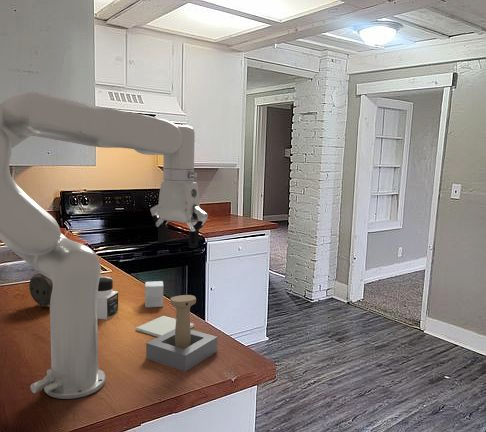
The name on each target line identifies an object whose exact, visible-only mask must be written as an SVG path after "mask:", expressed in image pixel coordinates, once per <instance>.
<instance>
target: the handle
mask: <svg viewBox="0 0 486 432" xmlns="http://www.w3.org/2000/svg"><path fill="white" fill-rule="evenodd" d="M196 303H197V298H196V296H195V295H192V294H182V295H176V296H172V297H170V305H172V306H173V307H175V309H176V315H175V319H176V327H175V346H176V347H178V348H182V349H185V348H187V347H189V346H190V339H191V330H192V328H190V323H191V307H192V306H193V305H196Z"/></svg>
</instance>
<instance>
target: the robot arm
mask: <svg viewBox="0 0 486 432" xmlns="http://www.w3.org/2000/svg"><path fill="white" fill-rule="evenodd" d="M195 133H196V132H195V129H194V128H193V127H192V126H189V125H185V124H184V125H181V124H180V125H179V124H175V123H173V122H171V121H169V120H166V119H162V118H158V117H155V116H150V115H145V114H140V113H136V112H129V111H125V110H124V111H123V110H118V109H114V108H109V107H103V106H99V105H95V104H90V103H86V102H81V101H78V100H74V99H70V98H66V97H61V96H58V95H53V94H49V93H45V92H39V91H27V92H23V93H18V94H15V95H12V96H9V97H8V98H6V99H5V100H3V101H1V102H0V241H1V242H2V243H3V244H4V245H5V246H6V247H7V248H9V249H10V250H11V251H12V252H13V253H15V254H16V255H17V256H18V257H20V258H21V259H22V260H23V261H25V262H26V263H27V264H28V265H30V266H31V267H32V268H33V269H34V270H36V271H38V273H41V274H43V275H44V276H46V277H48V278H49V279H51V280H52V281H53V289H52V294H51V300H50V305H49V323H50V325H49V326H50V355H51V356H50V359H51V368H49V369H47V370H46V376H44V377H43V379H40V380H38V381H35V382H33V383H31V384H30V387H29V388H30V391H31V392H32V393H33V394H36V393H38V392H41V391H42V390H44V392H45V394H46V395H48V396H49V397H52V398H54V399H55V398H56V399H60V400H61V399H62V400H73V399H78V398H83V397H87V396H90V395H92V394H94V393H97V391H99V390H100V389H101V388H103V387H104V386H105V384H106V374H105V372H104V371H103V370H101V369H100V368H99V355H98V354H99V351H98V349H99V348H98V347H99V345H98V343H99V341H98V340H99V339H98V338H99V337H98V335H99V334H98V333H99V332H98V330H99V329H98V319H97V294H98V285H99V280H100V277H101V273H102V271H101V269H102V268H101V267H102V266H101V262H100V259H99V257H98V255H97V254H96V253H95V251H94V250H93V249H92V248H90V247H89V246H87V245H86V244H83V243H80V242H78V241H75V240H71V239H69V238H68V237H67V236H65V235H64V234H63V233H62V232H61V228H60V225H59V224H58V222H57V220H56V219H55V218H54V217H53V215H51V213H49V212H47V211H46V210H44V209H45V208H43V207H42V206H40V205H39V204H38V203H37V202H36V201H35V200H33V198H32V197H30V195H28V194H27V193H26V192H25V191H24V190H23V189H22V188H21V187H20V186H19V185H18V184H17V183H16V181H15V180H14V178H13V177H12V174H11V170H10V160H11V159H12V158H11V157H12V152H13V148H15V147H17V146H18V145H20V144H21V143H22V142H24V141H25V140H27V139H28V138H30V137H38V138H43V139H48V140H55V141H61V142H66V143H72V144H76V145H77V144H78V145H83V146H88V147H94V148H95V147H96V148H104V149H105V148H113V149H114V148H115V149H117V148H118V149H119V148H120V149H128V150H129V149H130V150H134V151H135V152H137V153H139V154H141V155H146V156H149V155H151V156H155V155H156V156H163V162H162V163H163V164H162V165H163V174H162V175H163V180H162V181H161V182H160V183H161V184H160V188H159V196H158V204H156V205H154V206H152V207H151V208H150V209H149V210H150V213H151V216H152V220H153V221H154V222H155V223H154V224H155V226H156V227H157V243H160V244H161V243H165V242H168V240H169V226H168V225H167V224H168V223H169V222H175V223H182V224H186V225H187V226H188V228H189V229H190V230H189V231H188V242H187V243H188V248H194V247H198V246H199V239H200V232H199V231H201V230H202V228H203V227H204V226H205V224H206V221H207V219H208V217H209V214H208V213H207V212H205V210H203V209H201V208H200V207H201V204H200V194H199V187H198V183H197V182H195V179H196V178H198V172H195V142H196V141H195V137H196V135H195Z"/></svg>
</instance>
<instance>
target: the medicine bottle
mask: <svg viewBox="0 0 486 432" xmlns="http://www.w3.org/2000/svg"><path fill="white" fill-rule="evenodd" d="M113 282H114V281H113V278H111V277H109V276H100V280H99V285H98V294H97V320H104V321H108V320H109V319H111V318H113V317H114V316H115V315H117V314H118V313H119V291H117V290H113V289H114V288H113V287H114V286H113V285H114V283H113Z"/></svg>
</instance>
